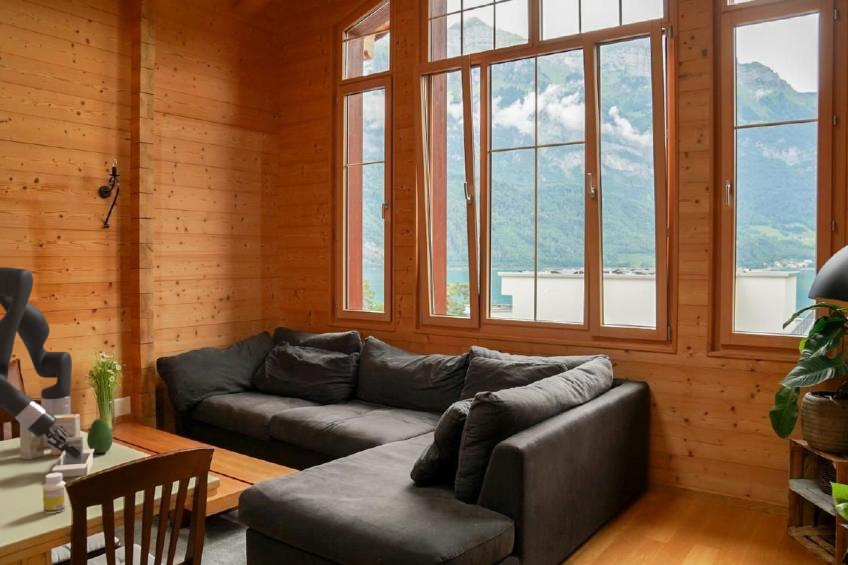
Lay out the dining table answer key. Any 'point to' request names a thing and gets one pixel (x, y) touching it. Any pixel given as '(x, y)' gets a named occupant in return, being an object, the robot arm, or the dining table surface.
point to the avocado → (100, 436)
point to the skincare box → (30, 444)
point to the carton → (74, 465)
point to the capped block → (78, 444)
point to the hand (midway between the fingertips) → (79, 453)
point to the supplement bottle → (54, 493)
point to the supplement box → (67, 428)
